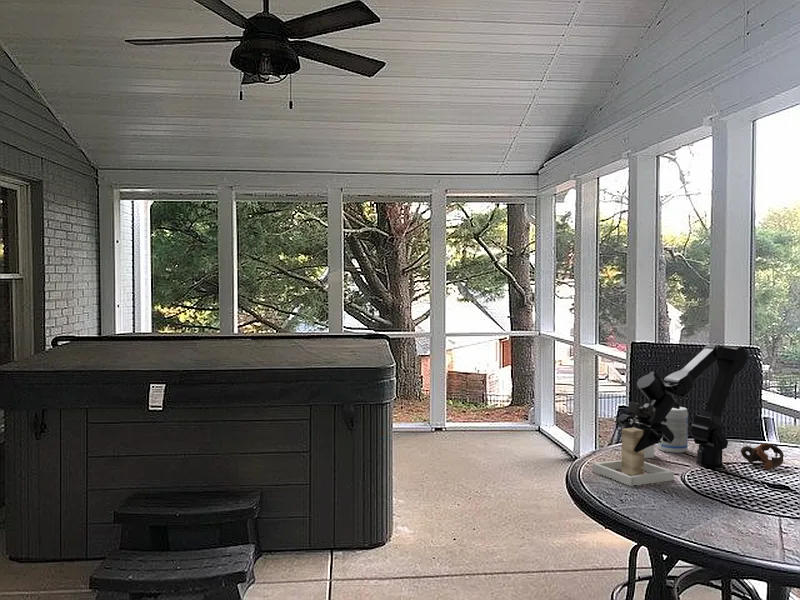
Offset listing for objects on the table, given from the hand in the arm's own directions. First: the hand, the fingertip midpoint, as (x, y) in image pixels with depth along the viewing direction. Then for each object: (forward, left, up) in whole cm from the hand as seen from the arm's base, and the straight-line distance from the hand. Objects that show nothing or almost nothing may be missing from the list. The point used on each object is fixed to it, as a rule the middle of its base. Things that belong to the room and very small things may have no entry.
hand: (629, 449), depth 206 cm
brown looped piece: (-47, -7, -8) cm, 48 cm away
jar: (-15, -23, -8) cm, 29 cm away
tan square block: (-1, 0, -7) cm, 7 cm away
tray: (-1, 0, -8) cm, 8 cm away
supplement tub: (-29, -29, -8) cm, 42 cm away
